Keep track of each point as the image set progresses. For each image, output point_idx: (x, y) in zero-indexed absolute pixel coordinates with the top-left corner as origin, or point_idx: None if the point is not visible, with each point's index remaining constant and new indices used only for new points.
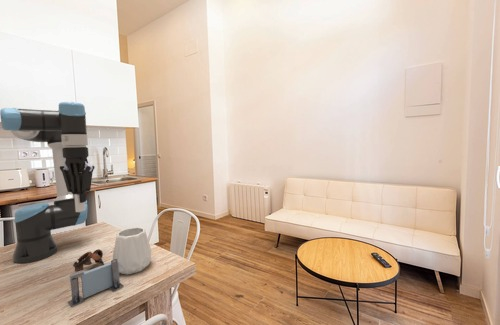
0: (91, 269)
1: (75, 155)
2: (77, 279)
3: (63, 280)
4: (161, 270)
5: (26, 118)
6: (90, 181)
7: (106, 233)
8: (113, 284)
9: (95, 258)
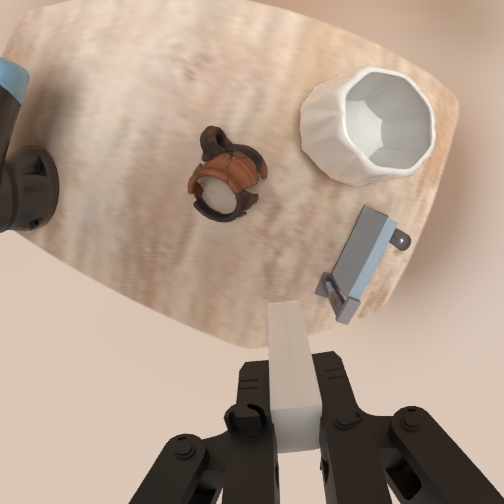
0: (358, 277)
1: None
2: None
3: (213, 239)
4: None
5: None
6: (484, 490)
7: (71, 26)
8: None
9: (254, 180)
